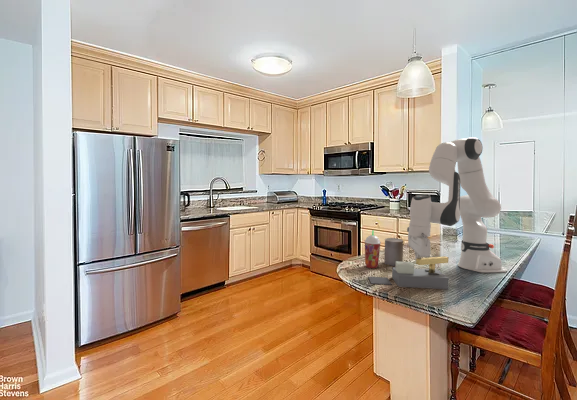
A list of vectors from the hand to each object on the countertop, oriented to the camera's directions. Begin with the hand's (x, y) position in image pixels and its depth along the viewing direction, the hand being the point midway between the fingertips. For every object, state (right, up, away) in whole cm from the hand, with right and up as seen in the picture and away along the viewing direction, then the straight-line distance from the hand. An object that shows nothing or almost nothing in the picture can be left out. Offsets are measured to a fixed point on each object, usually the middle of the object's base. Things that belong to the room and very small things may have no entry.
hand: (418, 261), depth 137 cm
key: (+7, -5, +1) cm, 8 cm away
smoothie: (-14, -8, +25) cm, 30 cm away
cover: (-5, -5, +2) cm, 8 cm away
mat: (-16, -10, +4) cm, 19 cm away
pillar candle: (0, -8, +32) cm, 33 cm away
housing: (+1, -10, +2) cm, 10 cm away
